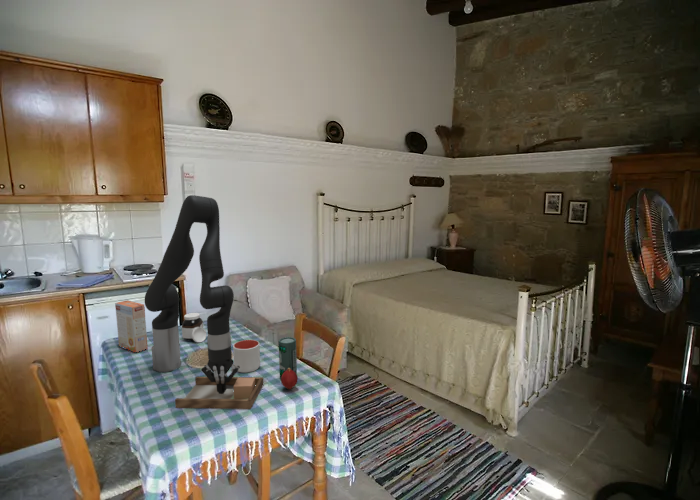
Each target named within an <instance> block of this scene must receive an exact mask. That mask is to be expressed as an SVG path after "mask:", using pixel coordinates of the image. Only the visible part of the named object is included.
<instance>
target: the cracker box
mask: <svg viewBox="0 0 700 500" xmlns="http://www.w3.org/2000/svg"><path fill="white" fill-rule="evenodd" d="M114 304H115V316H116V327H117V337H118V339H117V341H118V347H119V346H121V347H124V348H126V349H128V350H127V351H129V350H131V351H133V352H132V353H134V352H137V353H140V352H143V351H146V350H148V349H149V347H148V336H147V335H148V334H147V333H148V332H147V322H146V309H145V308H146V306H145V303H144V304H143V303H139V302H136V301H131V300H128V299H127V300H123V301H118V302H115V303H114ZM121 347H120V348H121ZM126 349H125V350H126ZM145 349H146V350H145ZM142 350H143V351H142ZM131 351H130V352H131ZM139 351H140V352H139Z"/></svg>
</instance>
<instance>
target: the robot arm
mask: <svg viewBox="0 0 700 500" xmlns="http://www.w3.org/2000/svg"><path fill="white" fill-rule="evenodd" d="M219 209H220V207H219V204H218V202H217V200H216V199H214V198H212V197H210V196H209V197H208V196H203V195H202V196H201V195H194V194H192V195H187V196H186V198H184V200H183V203H182V204H181V207H180V210H179V215H178V218H177V221H176V225H175V228H174V230H173V234H172V236H171V239H170V241H169V243H168V245H167V246H166V249H165V252H164V255H163V257H162V260H161V262H160V264H159V267H158V269H157V271H156V274H155V276H154V278H153V280H152V281H151V283H150V285H149V286H148V288H147V290H146V292H145V295H144V307H145V308H146V309H147V310H148V311H149V312H151V313H152V312H153V313H155V312H156V313H158V312H160V313H159V314H158V315H156V317H154V318H153V319H152V321H151V329H152V330H151V331H152V341H153V345H152V346H151V358H152V359H151V360H152V369H153V371H156V372H158V373H159V372H160V373H167V372H172V371H175V370H177V369H179V368H180V367H181V366H182V360H181V350H180V349H181V348H180V346H181V345H180V335H179V334H180V333H179V332H180V331H179V318H180V296H179V292H178V289H177V288H176V287H175V286H174V285H173V283H175V282H176V281H177V280H178V279H179V278H180V277H181V276H182V275H183V274H184V273H185V272H186V271H187V269H188V268H189V266H190V264H191V263H192V260H193V257H194V255H195V249H194V248H195V247H194V245H193V241H192V238H191V234H190V232H191V228H192V227H193V224H194V223H199V224H205V226H206V237H205V240H204V242H203V244H202V246H201V248H200V251H199V257H198V258H199V259H198V260H199V267H200V273H201V285H200V286H201V288H200V294H199V303H200V305H201V307H202V308H203V309H205V310H213V309H219V311H217V312H215V313H212V314H210V315H209V316H208V317H207V318H206V324H207V327H206V328H207V330H206V332H207V336H206V338H207V339H206V341H207V358H208V360H207V362H206V364H204V366H203V367H202V368H201V369H200V370H201V372H202V373H203V374H204V375H205V377H207V378H208V379H209V380H210V381H211V382H215V383H216V384H217V392H219V394H223V393H224V392H225V391H226V389H227V388H226V382H229V381H230V380H231V379H232V377H235V375H236V374H237V373H238V370H239V368H240V367H239V366H236V365H234V359H233V357H232V356H233V354H232V352H233V351H232V337H231V330H230V329H231V328H230V327H231V326H230V317H231V311H232V307H233V302H234V299H235V297H234V296H235V295H234V294H235V293H234V291H233V288H232V287H230V286H229V285H219V286H212V287H211V284H212V283H214V282H216V281H220V280H222V279H223V278H224V275H225V272H224V271H225V270H224V267H223V260H222V255H221V245H220V244H221V242H220V240H221V239H220V238H221V236H220V231H221V230H220V229H221V227H220V210H219ZM229 371H231V373H230V374H229V375H228V372H229Z"/></svg>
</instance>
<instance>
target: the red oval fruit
mask: <svg viewBox="0 0 700 500" xmlns="http://www.w3.org/2000/svg"><path fill="white" fill-rule="evenodd" d="M298 379H299V378H298V373H297V374H296V373H295V372H294V371H293V370H291V369H290V368H288V369H287V370H286V371H285V372H284V373H283V374H282V377H281V381H280V382H281V385H282V386H283V387H284V388H286V389H287V390H289V391H290V390H292V389H293V388H294V387H296V385H297V384H298Z"/></svg>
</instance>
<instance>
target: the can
mask: <svg viewBox="0 0 700 500" xmlns="http://www.w3.org/2000/svg"><path fill="white" fill-rule="evenodd" d="M278 361H279V365H278V367H279V381H280V382H281V377H282V374H283V373H284V372H285V371H286V370H287V369H288V368H290V369H291V370H293V371H294V372H295V373H296V374H297V375H298V369H297V368H298V367H297V366H298V365H297V362H298V361H297V339H296V337H292V336H286V337H282V338H279V339H278Z"/></svg>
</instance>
